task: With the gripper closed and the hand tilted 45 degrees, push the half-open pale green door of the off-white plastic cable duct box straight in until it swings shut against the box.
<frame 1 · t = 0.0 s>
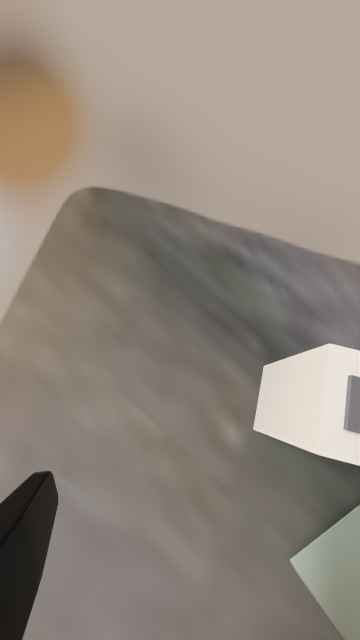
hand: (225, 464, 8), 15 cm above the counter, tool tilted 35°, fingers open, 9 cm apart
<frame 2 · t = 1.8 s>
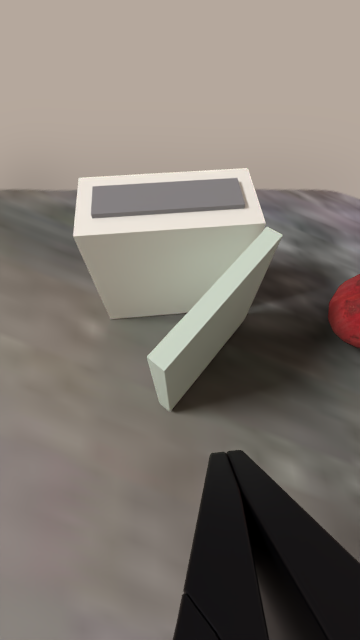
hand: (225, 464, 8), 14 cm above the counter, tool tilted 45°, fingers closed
onion: (345, 333, 25), on the counter
duct box: (234, 308, 25), on the counter
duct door: (211, 331, 18), point 5 cm above the counter, hinge at 45.0°
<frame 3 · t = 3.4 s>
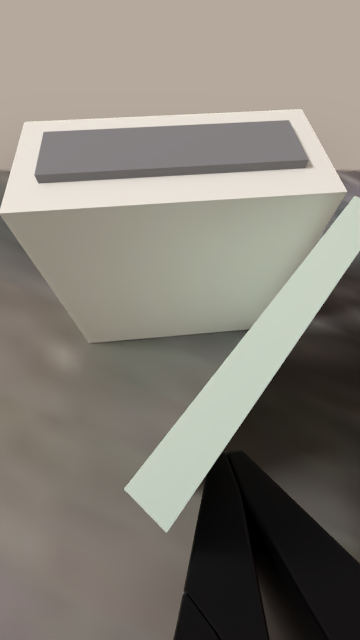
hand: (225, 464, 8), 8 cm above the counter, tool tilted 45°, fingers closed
duct box: (264, 328, 18), on the counter
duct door: (244, 376, 11), point 5 cm above the counter, hinge at 44.9°, touching gripper
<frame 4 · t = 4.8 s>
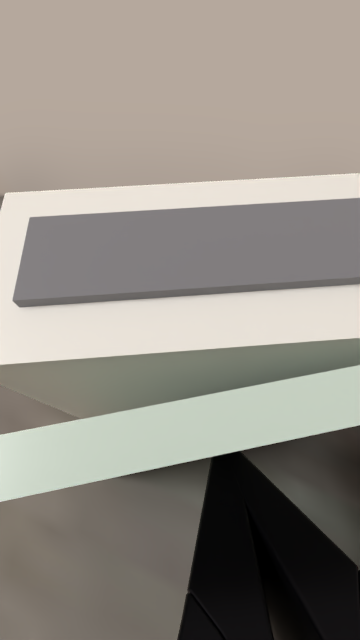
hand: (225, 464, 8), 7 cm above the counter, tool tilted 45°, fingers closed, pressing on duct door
duct box: (304, 406, 15), on the counter
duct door: (218, 436, 9), point 5 cm above the counter, hinge at 6.3°, touching gripper
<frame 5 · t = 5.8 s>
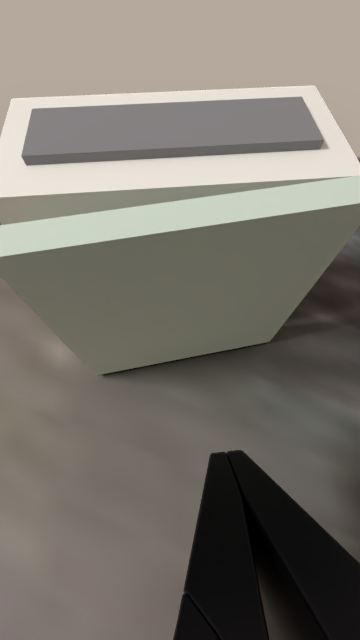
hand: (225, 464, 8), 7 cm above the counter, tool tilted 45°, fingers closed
duct box: (268, 322, 17), on the counter
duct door: (185, 307, 12), point 5 cm above the counter, hinge at 6.0°
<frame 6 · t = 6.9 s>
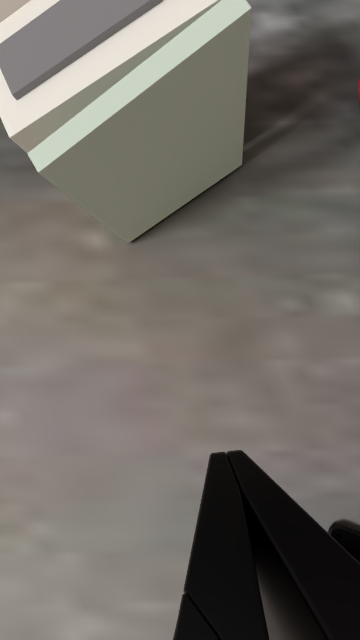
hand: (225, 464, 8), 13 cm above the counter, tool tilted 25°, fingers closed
duct box: (238, 148, 21), on the counter
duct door: (162, 160, 16), point 5 cm above the counter, hinge at 6.0°
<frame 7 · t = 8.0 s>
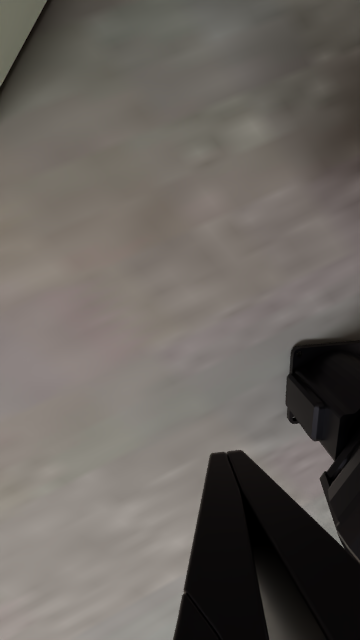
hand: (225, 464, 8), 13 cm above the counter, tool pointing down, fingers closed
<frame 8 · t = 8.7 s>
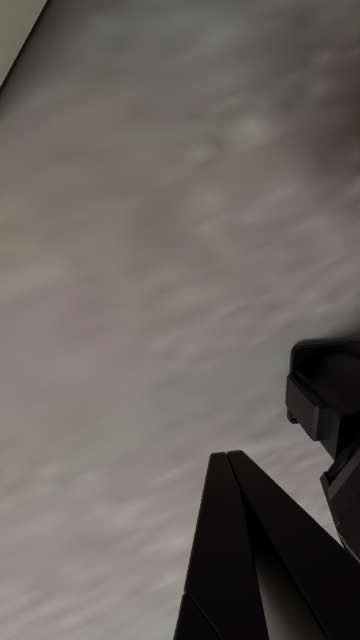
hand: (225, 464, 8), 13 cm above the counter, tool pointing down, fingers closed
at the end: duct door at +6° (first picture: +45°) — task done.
